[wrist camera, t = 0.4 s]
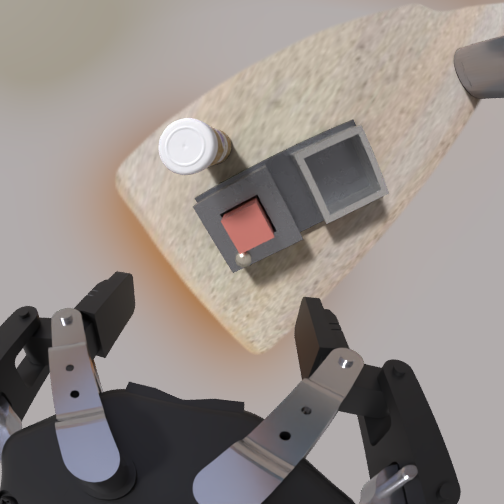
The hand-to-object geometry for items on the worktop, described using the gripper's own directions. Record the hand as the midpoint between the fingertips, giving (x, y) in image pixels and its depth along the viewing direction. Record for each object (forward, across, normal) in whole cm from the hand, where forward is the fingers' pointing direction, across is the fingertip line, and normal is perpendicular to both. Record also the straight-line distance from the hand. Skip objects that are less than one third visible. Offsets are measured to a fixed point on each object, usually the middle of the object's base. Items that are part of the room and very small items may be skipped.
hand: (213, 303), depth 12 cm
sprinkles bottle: (+24, +4, -7) cm, 25 cm away
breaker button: (+21, -1, +1) cm, 21 cm away
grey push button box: (+23, -6, -2) cm, 24 cm away
